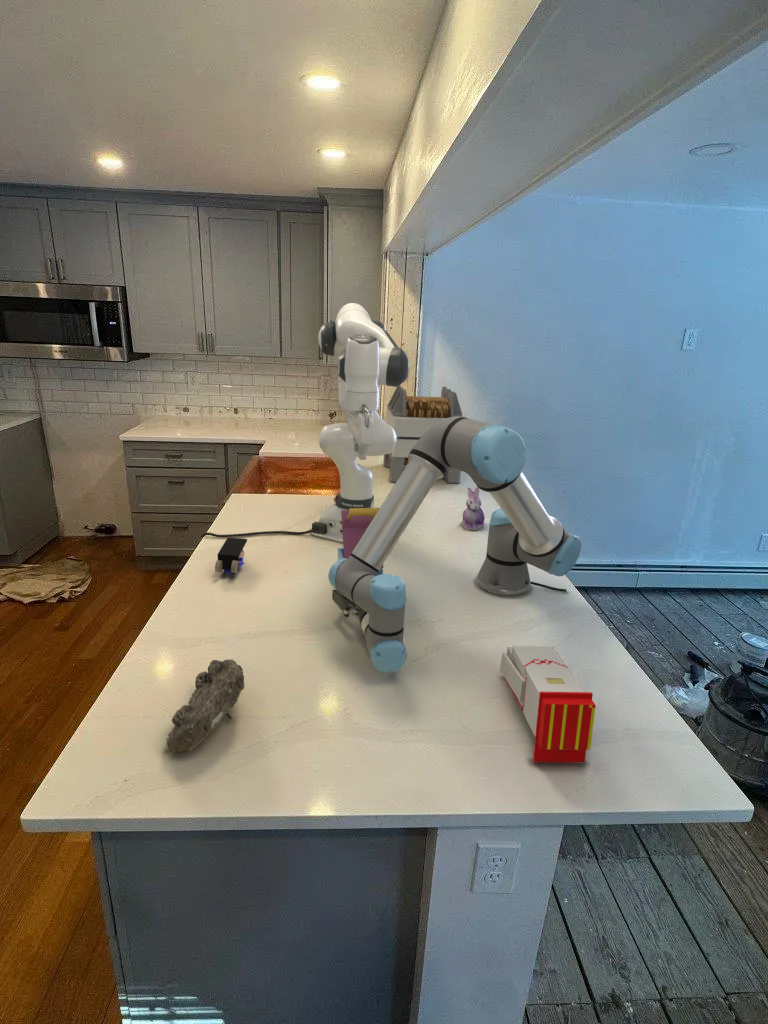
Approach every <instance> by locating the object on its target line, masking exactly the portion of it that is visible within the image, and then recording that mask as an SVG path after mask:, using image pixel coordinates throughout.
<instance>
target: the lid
mask: <svg viewBox="0 0 768 1024" xmlns="http://www.w3.org/2000/svg"><path fill="white" fill-rule="evenodd" d="M379 509H380V507H374V508H350V509H349V510H342V511H341V518H342V534H343V542H342V548H343V550H344V558H345V559H348V558H349V556H350V555H351V553H352V551H353V550H354V548H355V547H356V545H357V544H358V542H359V540H360V539H361V537H362V536H363V534H364V532H365V531H366V529H367V528H368V526H369V525H370V523H371V521H372V520H373V518H374V517H375V515H376V513H377V512H378V510H379ZM381 568H382V569H383V568H384V564H383V565H382V567H381Z"/></svg>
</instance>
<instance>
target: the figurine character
mask: <svg viewBox="0 0 768 1024" xmlns="http://www.w3.org/2000/svg"><path fill="white" fill-rule="evenodd" d="M247 542H248V538H240V537H226V539H225V541H224V543H223V544H222V546H221V547H220V549H219V551H218V552H217V560H216V562H215V564H214V572H215V573H221V577H222V578H224V577H225V576H226V574H227V573H230V574H231V573H232V574H231V578H234V577H235V575H236V573H237V572H239V571H240V567H242V566H243V565H244V564H245V562H244V558H245V551H244V547H245V546H246V544H247Z"/></svg>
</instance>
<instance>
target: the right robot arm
mask: <svg viewBox="0 0 768 1024" xmlns="http://www.w3.org/2000/svg"><path fill="white" fill-rule="evenodd" d="M526 449H527V448H526V445H525V442H524V439H523V438H522V436H521V435H520V434H519V433H518V432H516V431H515V430H513V429H511V428H509V427H507V426H504V425H501V424H498V423H497V424H495V423H489V422H486V421H482V420H476V419H473V418H468V417H465V416H462V417H460V416H455V417H449V418H446V419H444V420H442V421H440V422H438V423H436V424H435V425H434V426H432V427H431V428H430V429H429V430H427V431H426V432H425V433H424V434H423V435H422V436H421V438H420V439H419V440H418V441H417V443H416V444H415V445H414V447H413V448H412V450H411V451H410V453H409V454H408V460H409V463H408V464H407V465H405V466H404V468H403V472H402V474H401V475H400V477H399V479H398V480H397V482H394V485H392V487H391V489H390V491H389V493H388V495H387V496H386V497H385V499H384V501H383V502H382V504H381V506H380V507H379V508H380V509H379V510H378V512H377V513H376V515H375V517H374V518H373V520H372V521H371V523H370V525H369V526H368V528H367V529H366V531H365V532H364V534H363V536H362V537H361V539H360V540H359V542H358V544H357V545H356V547H355V548H354V550H353V551H352V553H351V555H350V556H349V558H348V559H345V558H343V559H339V560H338V561H335V562H334V563H333V564H332V565H331V566H330V568H329V570H328V575H327V576H328V577H327V578H328V582H329V584H330V586H331V587H333V589H332V592H331V593H332V595H331V599H332V601H333V602H334V603H335V604H336V605H337V607H338V608H339V609H340V610H341V611H342V612H343V617H344V618H348V617H350V615H351V614H353V615H354V614H355V615H356V616H357V618H358V620H359V624H360V628H361V630H362V634H363V637H364V640H365V643H366V646H367V650H368V654H369V659H370V661H371V662H372V664H373V666H374V668H375V669H376V670H377V671H378V672H381V673H384V674H391V673H395V672H397V671H399V670H401V669H402V668H403V667H404V665H405V664H406V662H407V659H408V653H407V646H406V645H405V643H404V635H405V634H404V632H405V615H406V605H407V604H406V602H407V594H406V593H407V592H406V588H407V587H406V583H405V580H404V579H403V578H401V577H400V576H398V575H392V574H389V573H383V574H382V575H378V576H376V575H377V574H378V572H379V570H380V568H381V567H382V565H383V566H384V564H385V562H386V561H387V559H388V558H389V556H390V554H391V553H392V551H393V550H394V548H395V546H396V544H397V543H398V541H399V540H400V539H401V537H402V535H403V533H404V532H405V530H406V528H408V526H409V524H410V522H411V520H412V519H413V517H415V514H416V513H417V511H418V509H419V508H420V506H421V505H422V503H423V501H424V500H425V498H426V497H427V495H428V494H429V492H430V490H431V489H432V488H433V485H434V484H435V483H436V481H437V480H440V479H442V478H444V475H445V473H446V471H447V470H448V469H450V468H454V469H457V470H460V471H461V472H463V473H465V474H467V475H468V476H469V477H470V478H471V480H472V481H473V483H474V484H475V485H476V486H477V487H478V488H479V490H481V491H482V492H485V493H490V495H491V496H492V498H493V499H494V501H495V503H497V505H498V506H499V507H500V508H498V509H496V510H494V511H493V512H492V513H491V515H490V520H489V523H488V535H487V544H486V555H485V556H486V557H485V559H484V561H483V562H482V565H481V568H480V569H479V571H478V572H477V578H476V583H477V586H478V587H480V589H482V590H483V591H485V592H487V593H490V594H493V595H496V596H500V597H519V596H523V595H526V594H527V593H529V592H530V590H531V585H533V586H536V587H541V588H544V589H547V590H551V591H555V592H562V593H566V592H567V588H558V587H553V586H549V585H546V584H543V583H538V582H535V581H532V580H531V577H530V576H531V575H530V572H529V567H528V564H529V565H531V566H533V567H535V568H537V569H539V570H541V571H543V572H546V573H547V574H549V575H553V576H556V577H564V576H565V575H567V574H568V573H570V571H572V569H573V568H574V567H575V565H576V563H577V561H578V559H579V557H580V555H581V554H580V553H581V550H582V540H581V538H580V537H579V536H578V535H575V534H574V533H570V532H568V531H566V529H565V528H564V525H562V523H561V522H560V521H559V520H558V519H557V518H556V517H554V516H551V515H549V514H548V512H547V511H546V509H545V506H544V505H543V504H542V502H541V501H540V499H539V498H538V496H537V494H536V492H535V491H534V489H533V488H532V486H531V484H530V483H529V481H528V479H527V478H526V476H525V475H524V473H523V469H524V467H525V463H526V459H527V456H526V455H525V453H527V450H526ZM477 487H476V488H477ZM351 606H353V607H351Z"/></svg>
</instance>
